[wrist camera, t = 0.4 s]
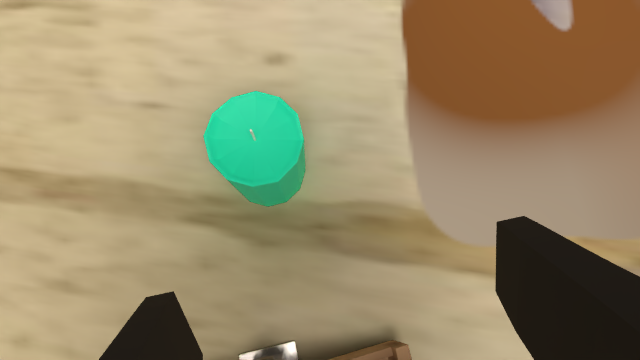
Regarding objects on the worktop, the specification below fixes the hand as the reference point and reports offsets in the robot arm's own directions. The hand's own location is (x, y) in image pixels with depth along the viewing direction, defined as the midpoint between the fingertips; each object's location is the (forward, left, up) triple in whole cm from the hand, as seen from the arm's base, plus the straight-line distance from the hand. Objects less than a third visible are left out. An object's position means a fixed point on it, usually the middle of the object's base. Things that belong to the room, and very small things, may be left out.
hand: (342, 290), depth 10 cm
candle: (+9, +2, -27) cm, 28 cm away
